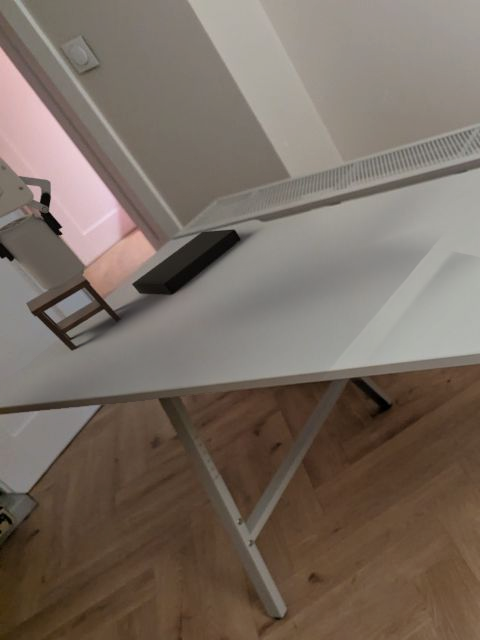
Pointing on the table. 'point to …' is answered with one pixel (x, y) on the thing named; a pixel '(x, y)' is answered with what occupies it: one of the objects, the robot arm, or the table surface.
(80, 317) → the stand
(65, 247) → the can
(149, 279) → the external hard drive
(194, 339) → the table surface
